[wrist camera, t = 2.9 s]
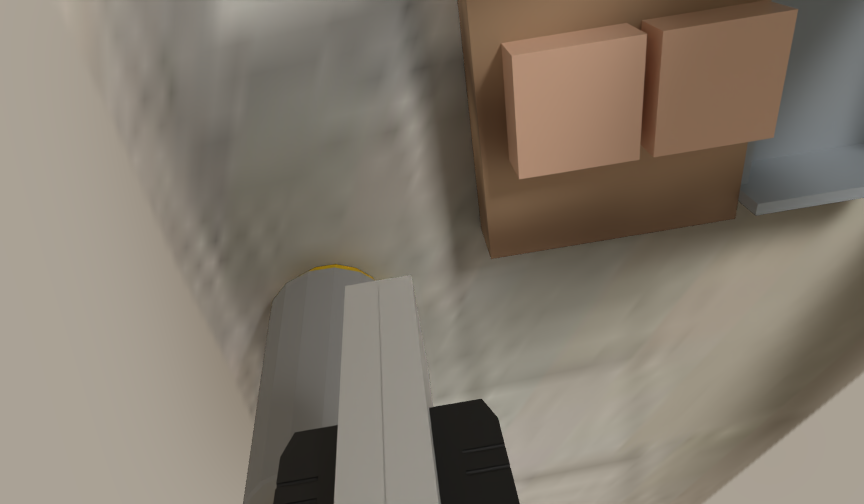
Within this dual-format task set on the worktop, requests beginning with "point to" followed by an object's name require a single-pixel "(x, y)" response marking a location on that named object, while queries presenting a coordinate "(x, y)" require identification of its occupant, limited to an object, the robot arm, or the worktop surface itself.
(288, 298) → the soap bottle
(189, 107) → the worktop surface
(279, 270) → the worktop surface
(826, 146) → the tray
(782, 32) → the tile
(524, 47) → the tile
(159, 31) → the worktop surface
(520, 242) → the walnut board
